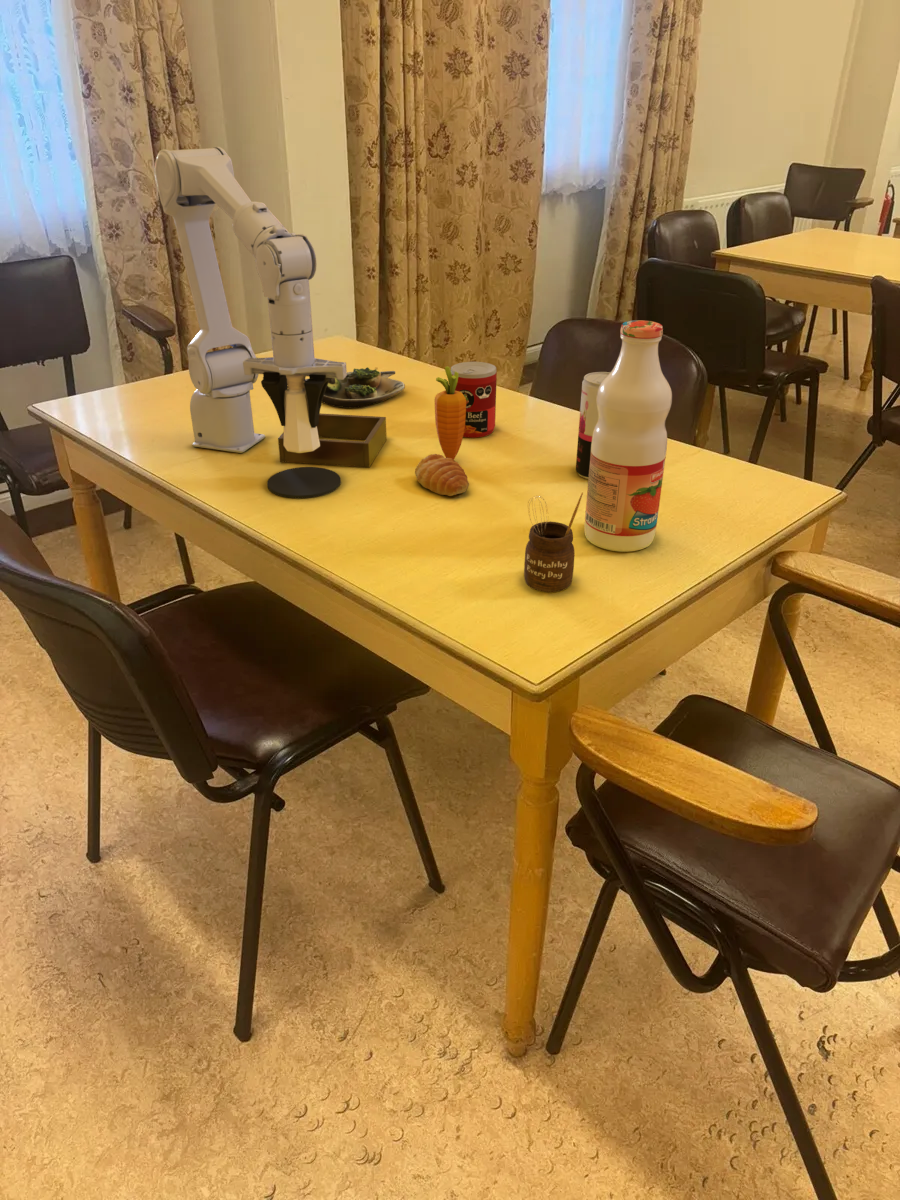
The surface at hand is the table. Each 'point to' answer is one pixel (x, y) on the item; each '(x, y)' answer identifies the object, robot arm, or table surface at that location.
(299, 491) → the mat
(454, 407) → the carrot
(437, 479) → the pastry
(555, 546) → the utensil holder
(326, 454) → the rectangular frame
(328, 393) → the salad plate
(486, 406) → the canned food
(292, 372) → the robot arm
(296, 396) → the salt shaker
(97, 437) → the table surface
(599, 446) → the fruit juice
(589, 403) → the beverage can
